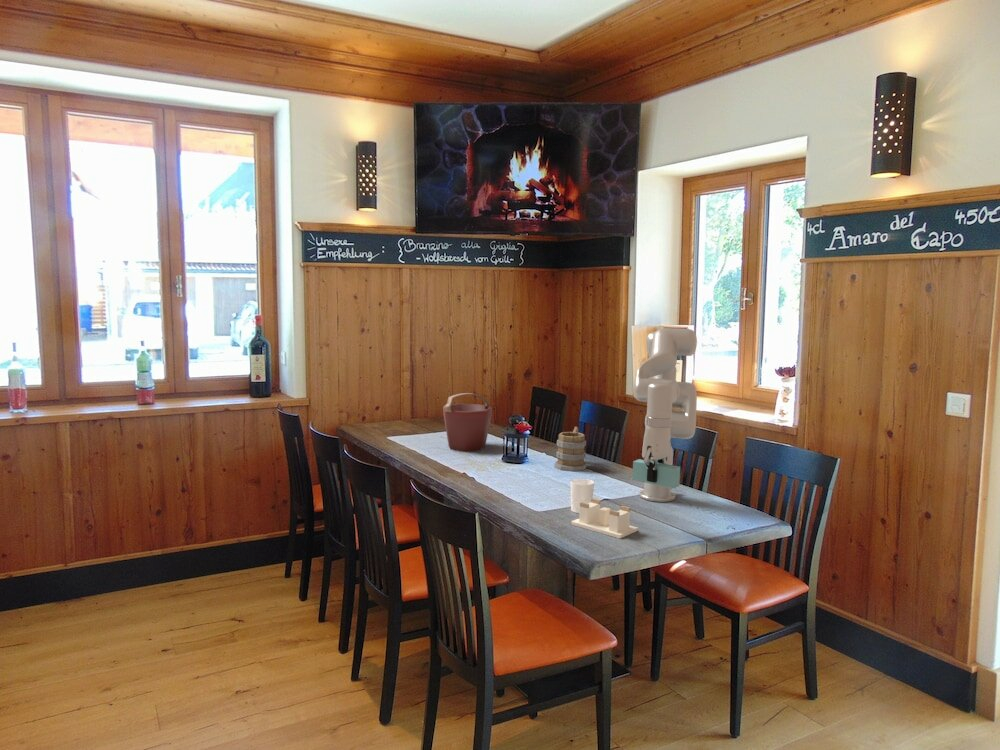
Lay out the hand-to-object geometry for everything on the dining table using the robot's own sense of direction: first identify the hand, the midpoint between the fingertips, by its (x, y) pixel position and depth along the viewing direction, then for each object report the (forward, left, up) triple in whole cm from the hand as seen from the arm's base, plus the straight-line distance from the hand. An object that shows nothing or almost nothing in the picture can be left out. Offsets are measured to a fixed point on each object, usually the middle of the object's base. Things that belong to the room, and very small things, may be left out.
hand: (655, 479), depth 226 cm
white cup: (+3, -26, -16) cm, 30 cm away
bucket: (-37, -119, -16) cm, 125 cm away
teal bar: (0, 0, -1) cm, 1 cm away
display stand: (+12, -11, -15) cm, 22 cm away
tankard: (-46, -65, -16) cm, 81 cm away
